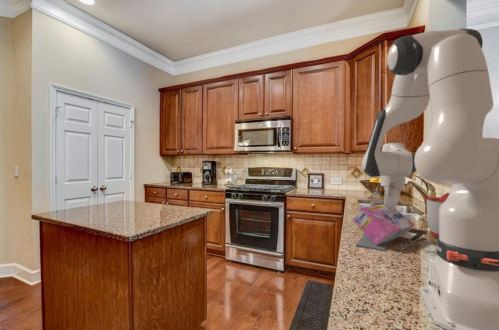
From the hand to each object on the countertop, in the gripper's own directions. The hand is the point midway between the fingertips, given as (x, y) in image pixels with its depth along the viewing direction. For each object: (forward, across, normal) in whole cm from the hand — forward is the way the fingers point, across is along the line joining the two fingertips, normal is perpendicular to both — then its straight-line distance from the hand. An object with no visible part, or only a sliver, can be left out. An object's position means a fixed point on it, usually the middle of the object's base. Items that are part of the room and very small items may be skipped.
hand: (392, 214), depth 101 cm
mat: (+12, -2, +6) cm, 13 cm away
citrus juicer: (+12, +21, -20) cm, 32 cm away
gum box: (+8, -2, -2) cm, 8 cm away
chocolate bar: (+13, +18, -5) cm, 23 cm away
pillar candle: (+13, +22, +7) cm, 26 cm away
